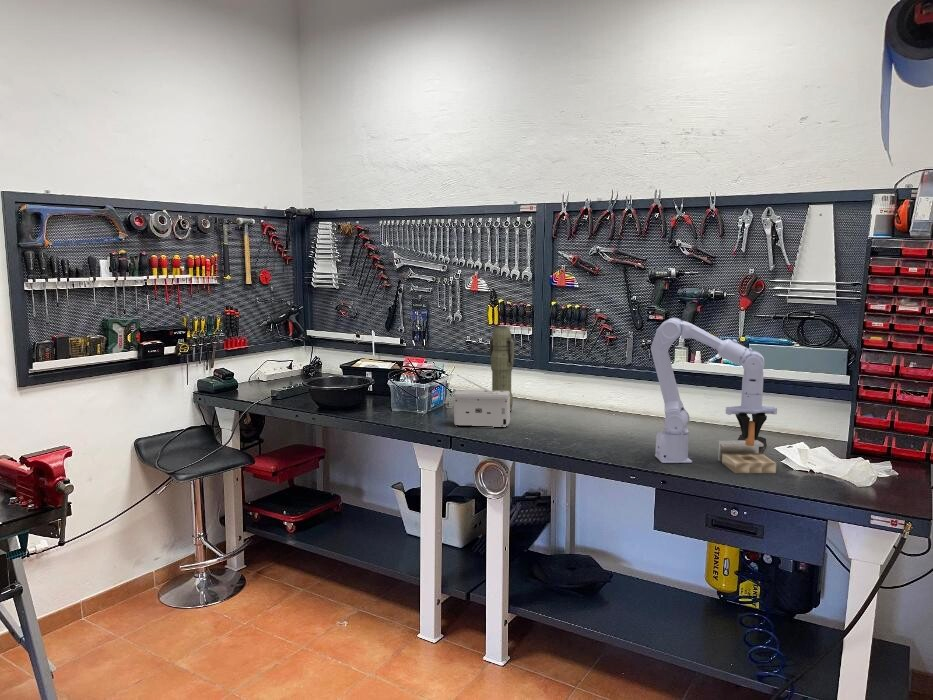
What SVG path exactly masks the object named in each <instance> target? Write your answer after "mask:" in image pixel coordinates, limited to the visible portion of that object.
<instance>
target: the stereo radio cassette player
mask: <svg viewBox="0 0 933 700" xmlns="http://www.w3.org/2000/svg"><path fill="white" fill-rule="evenodd" d="M456 376H457V377H460V378H461V379H464V380H466V381H467V382H468V383H471V384H473V386H474V385H475V386H477V387H479V388H480V389H482V390H479V389H477V390H473V389H457V390H454V393H453V422H454V423H453V424H454V425H455V426H456V425H472V426H493V427H492V428H494V427H506V426H507V427H508V426H509V425H510V422H511V412H510V392H509V391H492V390H488V389H487V388H485V387H483V386H482V385H479V384H478V383H476V382H473V381H471V380H470V379H467V378H465V377H463V376H461V375H459V374H457V375H456ZM507 427H506V428H507Z"/></svg>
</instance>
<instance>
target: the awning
mask: <svg viewBox="0 0 933 700" xmlns="http://www.w3.org/2000/svg"><path fill="white" fill-rule="evenodd" d="M745 443H746V440H738V439H735V440H732V439H731V440H718V454H717V455H718V456H717V458H718V459H717V460H718V462H722V454H746V453H758V452H759V447H764V444H763V443H761V442H760V441H758V440H754V446H748V445H745Z"/></svg>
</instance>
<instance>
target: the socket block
mask: <svg viewBox="0 0 933 700" xmlns="http://www.w3.org/2000/svg"><path fill="white" fill-rule="evenodd" d="M721 464H722V465H724V466H725V467H726V468H727V469H729V470H730V471H732V472H733V473H734V474H776V472H777V462H775V461H773V460H772V459H771V458H769V457H767V456H766V455H765V454H763V453H746V454H722V461H721Z"/></svg>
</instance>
